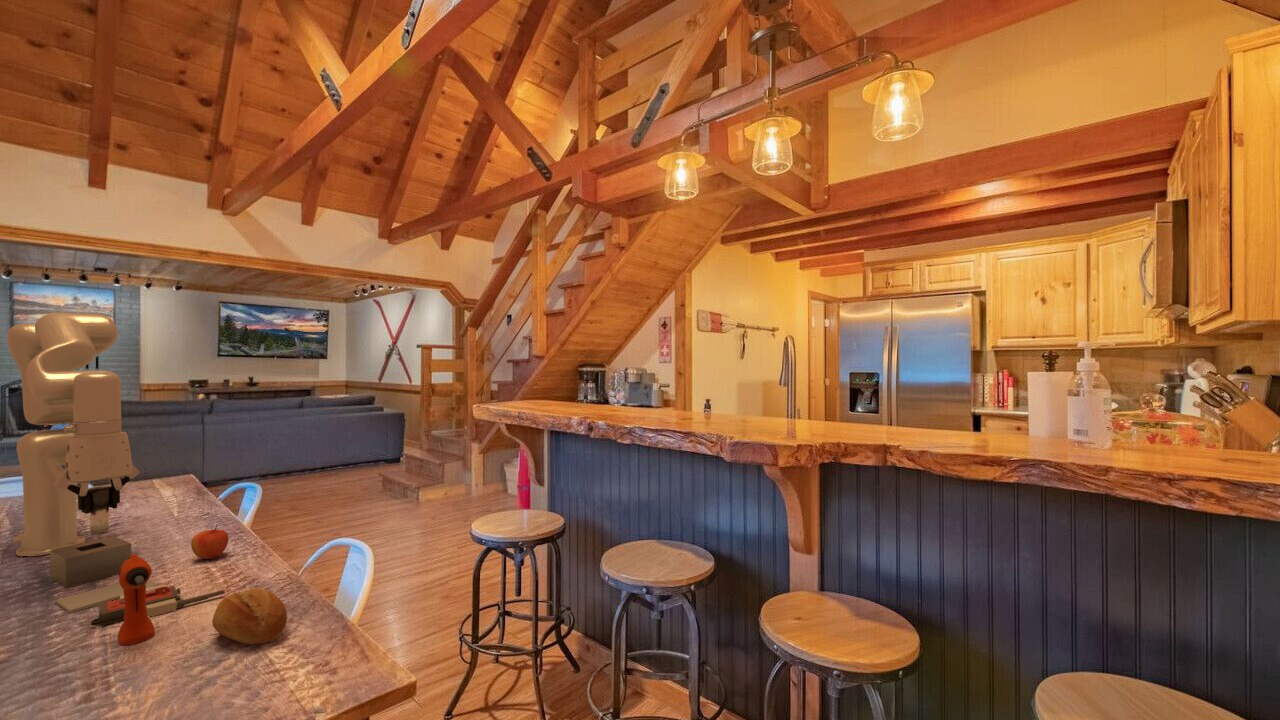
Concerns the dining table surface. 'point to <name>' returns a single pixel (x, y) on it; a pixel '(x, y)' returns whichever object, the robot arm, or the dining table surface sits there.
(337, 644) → the dining table surface
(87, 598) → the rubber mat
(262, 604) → the bread roll
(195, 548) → the apple
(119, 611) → the walkie-talkie
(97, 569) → the block
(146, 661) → the dining table surface
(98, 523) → the brown beige cylinder
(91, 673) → the dining table surface
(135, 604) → the toy drill
